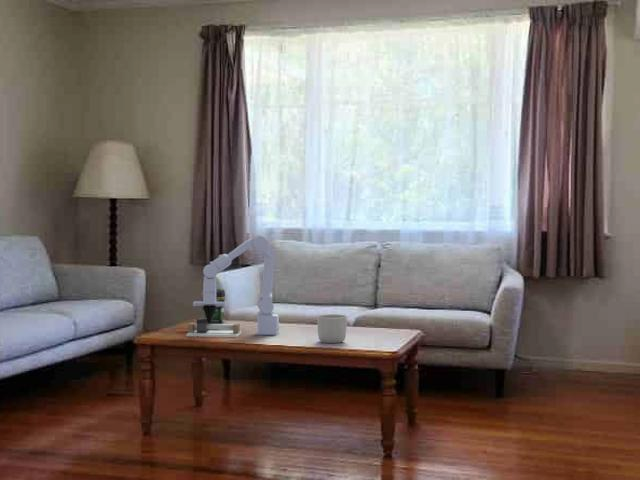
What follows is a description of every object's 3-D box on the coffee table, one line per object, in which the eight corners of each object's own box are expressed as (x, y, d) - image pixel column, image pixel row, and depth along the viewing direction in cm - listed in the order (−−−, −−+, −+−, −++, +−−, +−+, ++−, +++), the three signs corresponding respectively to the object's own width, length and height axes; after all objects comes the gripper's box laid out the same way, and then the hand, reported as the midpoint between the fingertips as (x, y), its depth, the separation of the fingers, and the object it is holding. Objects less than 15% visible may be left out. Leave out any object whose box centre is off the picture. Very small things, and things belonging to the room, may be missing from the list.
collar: (208, 330, 355) (208, 318, 355) (205, 332, 350) (205, 319, 350) (199, 330, 356) (199, 317, 355) (196, 332, 350) (196, 319, 350)
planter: (316, 339, 341) (316, 314, 341) (344, 339, 342) (345, 314, 341) (318, 344, 329) (318, 318, 328) (348, 344, 329) (348, 318, 329)
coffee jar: (201, 329, 369) (201, 289, 369) (208, 326, 377) (208, 287, 376) (220, 330, 367) (220, 289, 366) (227, 327, 374) (227, 288, 374)
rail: (241, 333, 358) (241, 322, 357) (236, 337, 346) (236, 326, 345) (192, 332, 359) (192, 321, 359) (186, 336, 347) (186, 325, 347)
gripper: (227, 291, 355) (227, 321, 356) (195, 290, 357) (195, 321, 357) (224, 292, 348) (224, 323, 349) (192, 292, 350) (191, 323, 350)
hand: (209, 322), depth 352 cm, fingers closed
